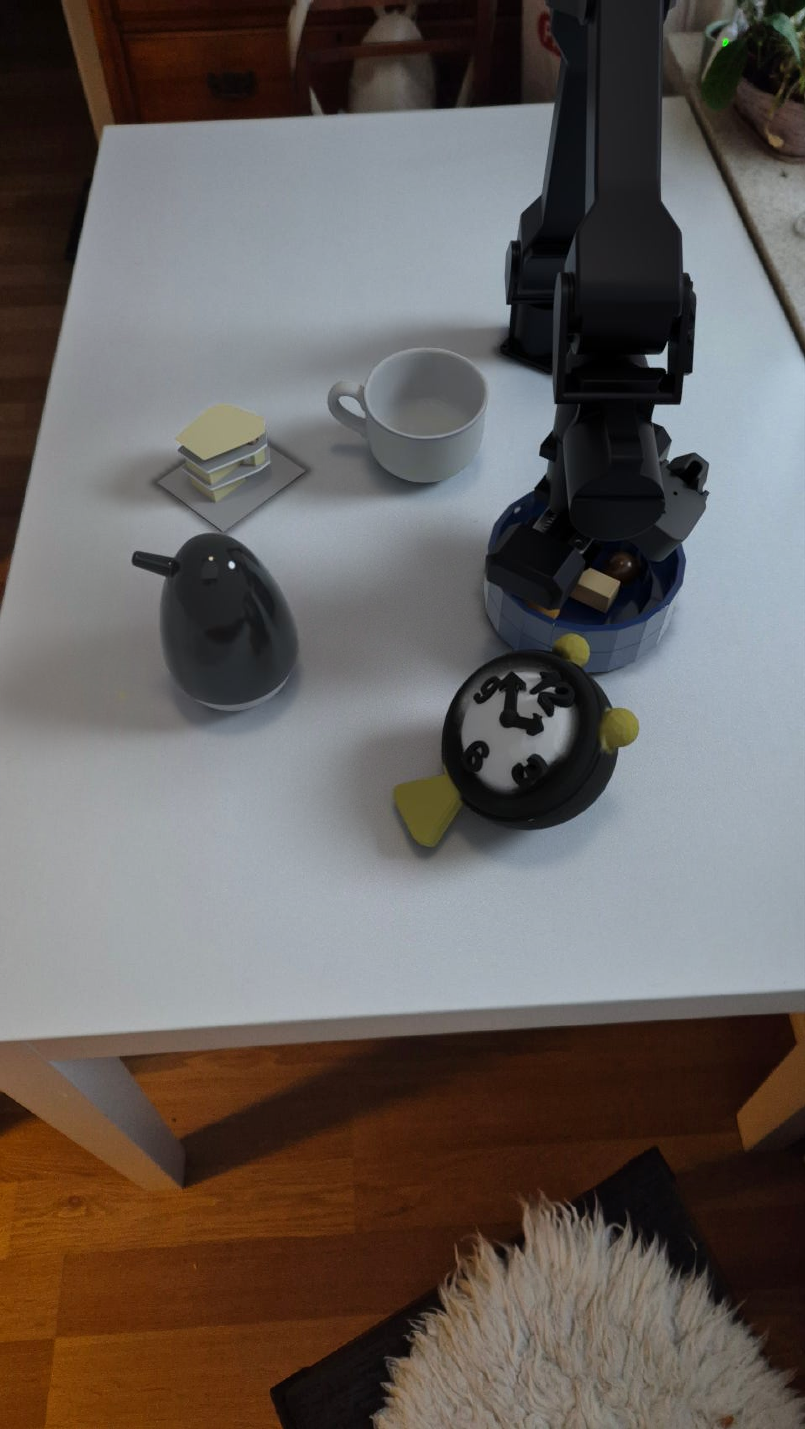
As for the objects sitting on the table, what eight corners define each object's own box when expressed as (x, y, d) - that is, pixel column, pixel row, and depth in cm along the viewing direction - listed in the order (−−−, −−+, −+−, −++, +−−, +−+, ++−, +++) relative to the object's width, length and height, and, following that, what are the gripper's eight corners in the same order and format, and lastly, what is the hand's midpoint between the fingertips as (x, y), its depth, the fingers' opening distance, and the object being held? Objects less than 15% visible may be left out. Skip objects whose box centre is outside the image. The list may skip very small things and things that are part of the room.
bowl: (449, 623, 82) (451, 576, 77) (539, 508, 89) (547, 457, 84) (617, 708, 78) (631, 663, 73) (698, 579, 85) (717, 530, 79)
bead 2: (591, 571, 82) (624, 581, 80) (608, 540, 82) (641, 550, 81) (599, 588, 84) (631, 599, 83) (616, 558, 85) (648, 568, 83)
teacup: (497, 432, 94) (504, 361, 87) (463, 513, 89) (467, 444, 82) (358, 400, 97) (353, 329, 90) (316, 477, 91) (308, 407, 85)
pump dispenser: (182, 623, 83) (139, 489, 70) (308, 625, 82) (289, 492, 69) (162, 729, 77) (112, 605, 64) (298, 732, 77) (274, 608, 64)
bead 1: (529, 637, 81) (509, 606, 80) (544, 617, 83) (525, 588, 82) (558, 626, 79) (538, 594, 78) (572, 606, 81) (553, 576, 80)
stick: (518, 572, 83) (520, 556, 82) (530, 557, 84) (532, 541, 83) (605, 613, 81) (609, 598, 79) (616, 597, 82) (620, 581, 80)
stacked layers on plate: (223, 532, 88) (213, 486, 83) (157, 482, 91) (143, 436, 86) (305, 471, 92) (299, 424, 87) (238, 425, 95) (229, 378, 90)
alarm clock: (426, 750, 80) (467, 584, 72) (602, 815, 78) (666, 650, 69) (373, 836, 71) (412, 656, 62) (571, 913, 68) (641, 736, 60)
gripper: (643, 566, 62) (603, 703, 75) (760, 392, 70) (706, 543, 83) (487, 495, 65) (475, 638, 79) (616, 337, 74) (586, 490, 87)
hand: (566, 576), depth 82 cm, fingers closed on stick, 2 cm apart
